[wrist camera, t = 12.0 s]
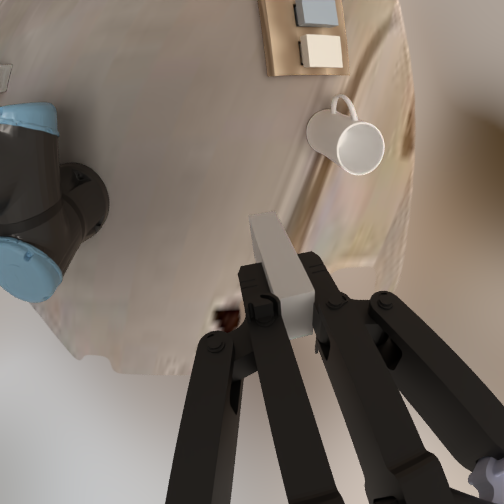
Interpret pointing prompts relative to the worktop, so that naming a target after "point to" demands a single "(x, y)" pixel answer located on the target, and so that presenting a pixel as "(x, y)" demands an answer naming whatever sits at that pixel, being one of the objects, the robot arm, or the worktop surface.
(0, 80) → the small box
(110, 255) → the worktop surface
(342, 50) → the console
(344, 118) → the mug
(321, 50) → the ivory key
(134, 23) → the worktop surface
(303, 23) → the slate key
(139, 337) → the worktop surface
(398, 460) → the robot arm
